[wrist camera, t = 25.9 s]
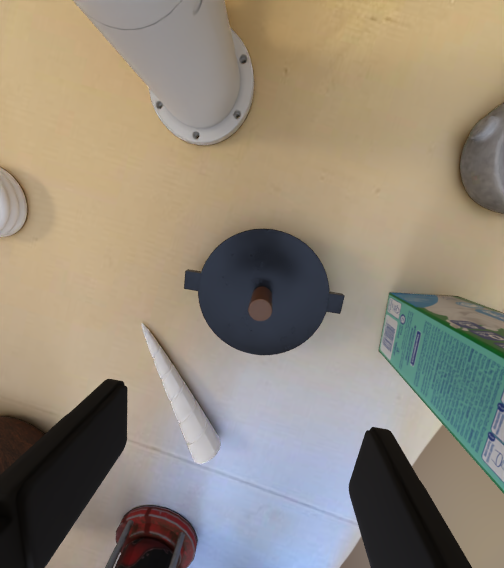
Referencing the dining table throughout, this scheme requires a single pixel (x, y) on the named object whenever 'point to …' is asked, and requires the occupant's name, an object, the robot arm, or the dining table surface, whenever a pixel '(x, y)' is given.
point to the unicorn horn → (184, 406)
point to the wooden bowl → (15, 440)
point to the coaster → (11, 205)
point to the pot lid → (263, 291)
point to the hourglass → (153, 540)
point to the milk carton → (453, 368)
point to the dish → (485, 161)
